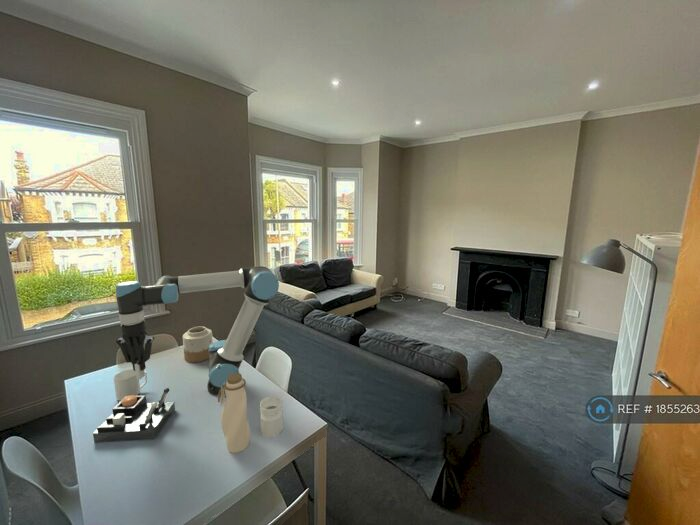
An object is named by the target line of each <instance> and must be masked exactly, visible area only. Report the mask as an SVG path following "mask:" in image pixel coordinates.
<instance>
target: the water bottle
mask: <svg viewBox="0 0 700 525" xmlns="http://www.w3.org/2000/svg"><path fill="white" fill-rule="evenodd" d="M242 375H243V374H241V373H240V372H239V373H233V374H230V375H229V376H228V377H227V382H226V383H225V382H224V383H223V385H222V387H221V389H220V391H219V394H218V395H217V402H218V403H220V407H222V406H223V407H222V409H221V415H220V416H221V417H220V425H221V429H222V433H223V435H224V438H225V443H226V449H227V451H228V452H229V453H233V454H236V453H241V452H243V451H244V450H245V449H247V447H248V446H249V444H250V437H251V428H250V424H249V421H248V418H247V393H246V392H247V391H246V389H245V385H246V384H247V381H246V379H245V378H244V377H242ZM224 389H225V394H224ZM220 393H221V395H220ZM225 397H226V398H225ZM224 401H225V402H224Z"/></svg>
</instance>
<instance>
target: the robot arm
mask: <svg viewBox="0 0 700 525" xmlns="http://www.w3.org/2000/svg"><path fill="white" fill-rule="evenodd" d="M238 287H241V288H242V289H245V291H244V292H243V294H244V297H245V299H244V301H243V303H242V305H241V308H240V310H239V311H238V312H239V313H238V314H237V317H236V319H235V321H234V323H233V326H232V327H231V328H230V332H229V334H228V336H227V338H226V339H224V340H223V339H222V340H218V341H214V342H213V343H212V344H210V346H209V350H208V351H209V359H208V360H209V361H208V364H209V365H208V369H209V370H208V382H207V387H206V388H207V392H208V393H209V394H211V395H214V396H218V394H219V391H220V389H221V387H222V385H223V383H224V382H225V383H226V382H227V377H228V376H229V375H230V374H233V373H240V371H239V369H240V367H241V364H242V363H243V360H244V358H245V357H244V355H243V351H244V350H245V347H246V345H247V344H248V342H249V339H250V337H251V334H252V333H253V330H254V328H255V325H256V324H257V321H258V320H259V317H260V315H261V313H262V311H263V310H264V309H263V308H264V306H266V305H269V303H270V302H271V300H272V298H274V297H275V296H276V295H277V293H278V291H279V287H280V283H279V279H278V277H277V275H276V274H275V273H274V272H272V270H271V269H270V268H268V267H266V266H262V265H258V266H256V265H255V266H250V267H249V266H248V267H241V268H240V269H238V270H233V271H221V272H220V271H219V272H211V273H210V272H209V273H201V274H200V273H199V274H192V275H188V274H187V275H179V276H171V275H163V276H162V277H160V278H158V279H157V281H155V284H154V285H153V284H152V285H145V286H144V285H141V283H140V282H139V281H136V280H131V281H130V280H129V281H123V282H120V283H118V284H116V286H115V298H116V303H117V308H118V309H117V310H118V317H119V324H120V329H121V331H120V332H121V334H122V335H121V337H120V338H118V339H117V340H116V341H115V342H116V344H117V345H118V346H119V348H120V350H121V353H122V354H123V357H124V360H125V362H126V363H131V364H132V369H133V370H134V371H135V372H136V379H139V380H141V379H143V378H144V377H145V373H144V371H145V369H146V367H147V366H146V362H147V361H149V360H150V359H151V352H152V347H153V342H154V340H155V337H154V336H149V335H148V333H147V332H146V330H147V327H146V325H147V324H146V320H145V318H146V317H145V311H144V307H145V306H156V305H163V304H164V305H165V304H166V305H167V304H173V303H177V302H178V300H179V294H185V293H194V292H195V293H196V292H203V291H212V290H221V289H228V288H238ZM224 395H225V389H224ZM220 396H221V393H220Z"/></svg>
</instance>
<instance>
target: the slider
mask: <svg viewBox="0 0 700 525" xmlns="http://www.w3.org/2000/svg"><path fill="white" fill-rule="evenodd" d="M124 423H125V414H124V413H118V414H117V415H116V416H115V417H114V418H113V425H124Z"/></svg>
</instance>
